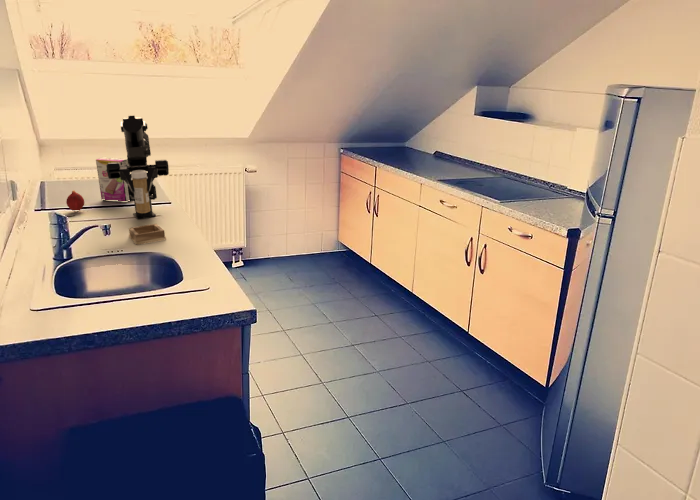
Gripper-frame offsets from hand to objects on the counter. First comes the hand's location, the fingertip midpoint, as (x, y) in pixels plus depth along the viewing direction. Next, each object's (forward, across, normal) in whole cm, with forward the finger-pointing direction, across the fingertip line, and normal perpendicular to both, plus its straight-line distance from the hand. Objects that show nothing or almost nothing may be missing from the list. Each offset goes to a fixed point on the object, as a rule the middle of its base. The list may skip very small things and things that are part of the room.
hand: (141, 191), depth 182 cm
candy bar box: (-20, -9, +40) cm, 45 cm away
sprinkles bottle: (+4, 0, +6) cm, 7 cm away
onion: (-12, -23, +32) cm, 41 cm away
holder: (+15, 0, +4) cm, 15 cm away
